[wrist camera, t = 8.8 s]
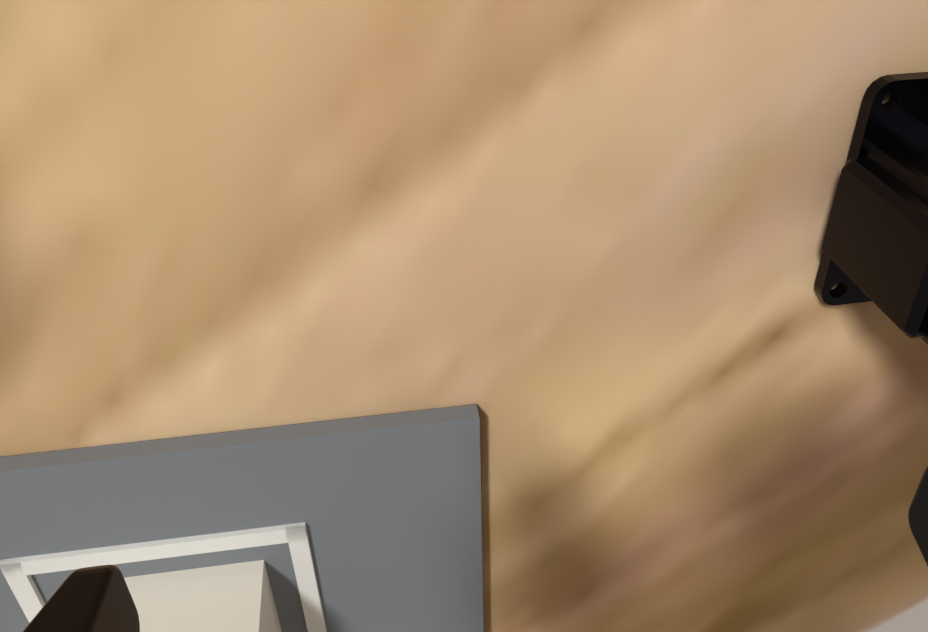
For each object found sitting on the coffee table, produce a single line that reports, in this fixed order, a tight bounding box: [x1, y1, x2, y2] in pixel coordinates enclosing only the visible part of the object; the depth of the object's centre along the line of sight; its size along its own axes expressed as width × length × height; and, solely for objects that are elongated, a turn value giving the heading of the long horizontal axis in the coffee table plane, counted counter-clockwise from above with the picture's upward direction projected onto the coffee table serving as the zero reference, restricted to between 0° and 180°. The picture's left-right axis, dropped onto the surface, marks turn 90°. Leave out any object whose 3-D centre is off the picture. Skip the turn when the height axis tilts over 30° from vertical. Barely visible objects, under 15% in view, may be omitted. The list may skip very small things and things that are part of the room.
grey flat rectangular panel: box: [0, 404, 484, 632], centre depth 27 cm, size 16×12×1 cm
